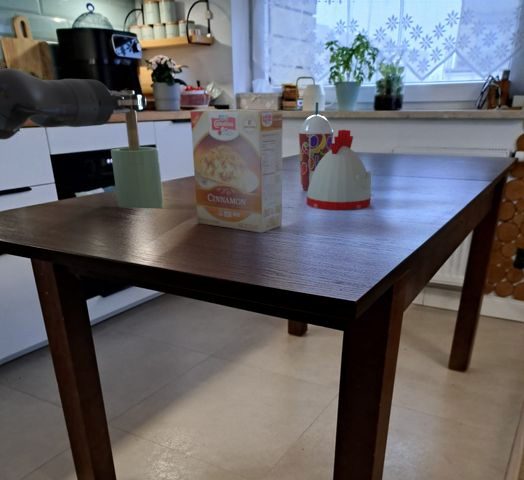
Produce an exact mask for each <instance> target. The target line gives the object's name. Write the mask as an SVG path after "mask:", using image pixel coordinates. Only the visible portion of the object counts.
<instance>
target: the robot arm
mask: <svg viewBox="0 0 524 480" xmlns="http://www.w3.org/2000/svg"><path fill="white" fill-rule="evenodd" d="M129 105H130V106H129ZM146 107H147V98H146V96H145V95H142V94H140V93H138V94H137V93H134V94H131V95H128V93H127V92H122V91H121V92H120V91H117V90H109V88H108V87H107V86H106V85H105V84H104V83H103V82H101V81H99V80H97V79H90V78H89V79H86V78H63V79H58V80H57V79H41V78H39V77H37V76H34V75H31V74H29V73H26V72H24V71H21V70H19V69H17V68H11V67H7V68H1V69H0V140H3V141H4V140H8V139H11V138H12V137H14V136H15V135H16V134H17V133H18V132H19V131H20V130H21V128H22V127H23V126H24V125H25V124H26V123H27V122H29V121H31V122H32V123H33V124H34V125H36V126H38V127H40V128H65V127H69V128H81V127H83V128H84V127H95V126H97V127H98V126H103V125H105V124H106V123H108V122H109V121H110V119H111V117H112V115H120V114H121V113H125V112H129V111H130V109H131V110H135V111H136V112H137V111H141V110H143V109H145V108H146Z"/></svg>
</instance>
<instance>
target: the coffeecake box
mask: <svg viewBox="0 0 524 480" xmlns="http://www.w3.org/2000/svg"><path fill="white" fill-rule="evenodd" d="M189 112H190V127H191V128H190V129H191V140H192V141H191V142H192V159H193V173H194V187H195V188H194V189H195V190H194V191H195V205H196V216H197V217H196V219H197V222H196V223H197V224H201V225H207V226H213V227H214V226H215V227H220V228H227V229H232V230H240V231H246V232H253V233H259V234H263V233H266V232H269V231H270V230H273V229H277V228H279V227H281V226H282V224H283V223H282V222H283V110H282V109H281V110H274V109H272V110H271V109H269V110H267V109H266V110H264V109H263V110H261V109H260V110H259V109H192V110H190V111H189Z"/></svg>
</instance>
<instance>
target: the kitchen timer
mask: <svg viewBox="0 0 524 480" xmlns="http://www.w3.org/2000/svg"><path fill="white" fill-rule="evenodd" d="M333 140H334V141H333V142H332V143H331V150H330V151H329V152H328V153H326V154H325V155H324V157H323V158H322V159H321V160H320V162H319V163H318V165H317V166H316V168H315V170H314V171H311V173H310V184H309V188H308V191H306V205H307V206H308V207H311V208H315V209H320V210H329V211H350V210H349V209H355V210H360V209H359V208H362V209H365V208H364V207H366V208H368V207H370V206H371V196H372V191H371V186H372V176H371V175H372V173H371V171H370V170H368V171H367V169H366V166H365V164H364V163H363V161H362V158H360V156H359V155H358V154H357V153H356V152H355V151H354V150H353V149H351V148H352V144H353V140H354V136H353V135H351V130H349V129H348V130H347V129H338V131H337V136H333ZM369 205H370V206H369ZM347 209H348V210H347Z"/></svg>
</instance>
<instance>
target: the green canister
mask: <svg viewBox="0 0 524 480" xmlns="http://www.w3.org/2000/svg"><path fill="white" fill-rule="evenodd" d="M110 154H111V162H112V163H111V164H112V169H113V177H114V186H115V192H116V200H117V205H118V208H133V209H157V210H158V209H160V210H163V209H164V197H163V185H162V175H161V164H160V163H161V162H160V154H159V148H158V147H152V146H140V150H138V151H129V146H128V147H117V148H112V149H110Z"/></svg>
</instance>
